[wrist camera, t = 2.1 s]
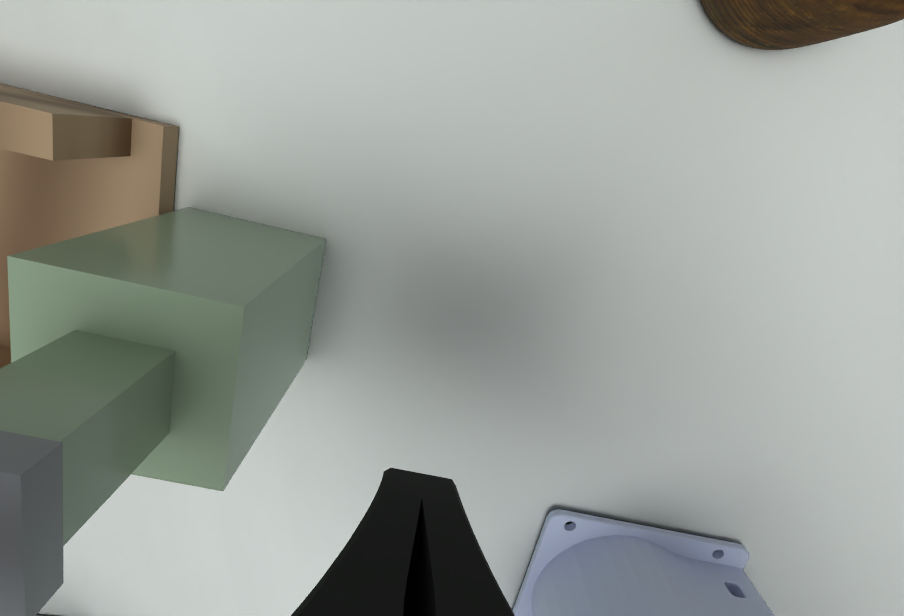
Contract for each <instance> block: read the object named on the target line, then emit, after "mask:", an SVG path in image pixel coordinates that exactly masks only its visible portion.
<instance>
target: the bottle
mask: <svg viewBox="0 0 904 616" xmlns="http://www.w3.org/2000/svg"><path fill="white" fill-rule="evenodd" d="M325 241H326V239H325V238H320V237H316V236H312V235H307V234H303V233H299V232H294V231H290V230H285V229H281V228H277V227H272V226H268V225H264V224H259V223H255V222H251V221H246V220H242V219H237V218H233V217H229V216H224V215H220V214H216V213H211V212H207V211H203V210H198V209H194V208H190V207H188V208H184V209H180V210H177V211H173V212H169V213H165V214H162V215H158V216H154V217H150V218H147V219H143V220H139V221H136V222H132V223H128V224H124V225H121V226H117V227H113V228H109V229H106V230H102V231H98V232H94V233H91V234H87V235H83V236H80V237H76V238H72V239H68V240H65V241H61V242H57V243H53V244H50V245H46V246H42V247H38V248H35V249H31V250H27V251H23V252H20V253H16V254H12V255H9V256H7V264H8V290H9V316H10V342H11V363H10V364H8V365H6V366H4V367H2V368H0V616H35V615H36V614H37V613H38V612H39V611H40V610H41V608H42V607H43V606H44V605H45V604H46V603H47V601H48V600H49V599H50V598H51V597H52V596H53V594H54V593H55V592H56V591H57V590H58V589H59V587H60V586H61V585H62V584H63V546H64V545H65V544H66V543H67V542H68V541H69V540H70V538H71V537H72V536H73V535H74V534H75V533H76V532H77V531H78V530H79V529H80V528H81V527H82V526H83V525H84V524H85V522H86V521H87V520H88V519H89V518H90V517H91V516H92V515H93V514H94V513H95V512H96V511H97V510H98V509H99V508H100V507H101V505H102V504H103V503H104V502H105V501H106V500H107V499H108V498H109V497H110V496H111V495H112V494H113V493H114V492H115V491H116V489H117V488H118V487H119V486H120V485H121V484H122V483H123V482H124V481H125V480H126V479H127V478H128V477H129V476H130V475H131V474H133V475H138V476H143V477H149V478H154V479H160V480H165V481H170V482H176V483H181V484H187V485H192V486H198V487H203V488H208V489H214V490H219V491H224V489H225V487H226V486H227V484H228V483H229V481H230V480H231V478H232V476H233V475H234V473H235V472H236V470H237V468H238V467H239V465H240V464H241V462H242V461H243V459H244V457H245V456H246V454H247V453H248V451H249V449H250V448H251V446H252V445H253V443H254V442H255V440H256V438H257V437H258V435H259V434H260V432H261V431H262V429H263V427H264V426H265V424H266V423H267V421H268V419H269V418H270V416H271V415H272V413H273V412H274V410H275V408H276V407H277V405H278V404H279V402H280V400H281V399H282V397H283V396H284V394H285V393H286V391H287V389H288V388H289V386H290V385H291V383H292V381H293V380H294V378H295V377H296V375H297V374H298V372H299V370H300V369H301V367H302V366H303V364H304V363H305V361H306V359H307V353H308V347H309V341H310V334H311V328H312V322H313V316H314V310H315V303H316V297H317V291H318V285H319V279H320V272H321V266H322V260H323V254H324V248H325Z"/></svg>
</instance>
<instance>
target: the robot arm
mask: <svg viewBox="0 0 904 616" xmlns="http://www.w3.org/2000/svg"><path fill="white" fill-rule="evenodd" d="M569 521H572V522H573V523H571V524H569V525H566V523H567V522H569ZM716 550H718V551H716ZM714 551H716V552H714ZM748 559H749V553H748V551H747V550H746V548H745V547H744V546H743V545H741V544H738V543H733V542H727V541H722V540H717V539H712V538H707V537H701V536H696V535H691V534H686V533H681V532H675V531H670V530H665V529H660V528H654V527H649V526H644V525H639V524H634V523H628V522H623V521H618V520H613V519H608V518H602V517H597V516H592V515H587V514H581V513H576V512H571V511H566V510H558V509H556V510H553V511H551V512H550V513H549V514H548V515H547V517H546V520H545V523H544V526H543V528H542V531H541V534H540V537H539V539H538V542H537V545H536V548H535V551H534V553H533V556H532V559H531V562H530V564H529V567H528V570H527V573H526V575H525V578H524V581H523V584H522V586H521V589H520V592H519V595H518V597H517V600H516V603H515V606H514V608H513V611H512V609H511V608H510V606H509V604H508V602H507V600H506V598H505V597H504V595H503V593H502V591H501V589H500V587H499V585H498V583H497V581H496V579H495V577H494V576H493V574H492V571H491V569H490V567H489V565H488V563H487V561H486V559H485V557H484V555H483V552H482V550H481V548H480V546H479V544H478V542H477V539H476V537H475V535H474V533H473V530H472V528H471V525H470V523H469V520H468V518H467V516H466V513H465V510H464V508H463V505H462V502H461V500H460V497H459V494H458V491H457V488H456V485H455V484H454V482H453V481H452V479H448V478H442V477H437V476H432V475H427V474H421V473H416V472H411V471H405V470H400V469H395V468H390V469H388V470H386V471H384V474H383V478H382V481H381V484H380V486H379V489H378V491H377V493H376V495H375V497H374V499H373V501H372V503H371V505H370V507H369V509H368V510H367V512H366V514H365V516H364V517H363V519H362V520H361V522H360V524H359V525H358V527H357V528H356V530H355V532H354V533H353V535H352V537H351V538H350V540H349V541H348V543H347V544H346V546H345V547H344V548H343V550H342V551H341V553H340V554H339V555H338V557H337V558H336V559H335V561H334V562H333V564H332V565H331V566H330V568H329V569H328V570H327V572H326V573H325V574H324V576H323V577H322V579H321V580H320V581H319V582H318V584H317V585H316V586H315V587H314V589H313V590H312V591H311V592H310V594H309V595H308V596H307V597H306V598H305V600H304V601H303V602H302V603H301V605H300V606H299V607H298V608H297V609H296V610H295V611H294V613H293V614H292V615H291V616H774V614H773V613H772V611H771V610H770V608H769V607H768V606H767V604H766V603H765V601H764V600H763V598H762V597H761V595H760V594H759V592H758V591H757V590H756V588H755V587H754V585H753V584H752V582H751V581H750V579H749V578H748V576H747V575H746V574H745V572H744V571H743V568H744V567H745V565H746V563H747V561H748Z"/></svg>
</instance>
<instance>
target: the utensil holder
mask: <svg viewBox="0 0 904 616" xmlns="http://www.w3.org/2000/svg"><path fill="white" fill-rule="evenodd" d="M701 1H702V4H703V6H704V8H705V10H706V12H707V13H708V15H709V17H710V18H711V20H712V21H713V22H714V24H715V25H716V26H717V27H718V28H719V29H720V30H721V31H722V32H723V33H725V34H726V35H727V36H729V37H730V38H732V39H733V40H735V41H737V42H739V43H741V44H744V45H746V46H750V47H753V48H758V49H766V50H782V49H792V48H798V47H803V46H808V45H813V44H817V43H821V42H825V41H829V40H833V39H837V38H841V37H845V36H849V35H853V34H856V33H860V32H864V31H868V30H871V29H875V28H878V27H882V26H885V25H888V24H891V23H894V22H897V21H899V20H902V19H904V0H701Z"/></svg>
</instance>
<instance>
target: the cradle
mask: <svg viewBox="0 0 904 616" xmlns="http://www.w3.org/2000/svg"><path fill="white" fill-rule="evenodd" d="M178 133H179V127H178V126H174V125H169V124H165V123H161V122H157V121H153V120H149V119H145V118H141V117H136V116H132V115H128V114H124V113H120V112H116V111H112V110H107V109H103V108H99V107H95V106H91V105H87V104H83V103H79V102H74V101H70V100H66V99H62V98H58V97H54V96H50V95H45V94H41V93H37V92H33V91H29V90H25V89H21V88H17V87H12V86H8V85H4V84H0V368H2V367H4V366H6V365H8V364H10V363H11V342H10V316H9V290H8V264H7V256H9V255H12V254H16V253H20V252H23V251H27V250H31V249H35V248H38V247H42V246H46V245H50V244H53V243H57V242H61V241H65V240H68V239H72V238H76V237H80V236H83V235H87V234H91V233H94V232H98V231H102V230H106V229H109V228H113V227H117V226H121V225H124V224H128V223H132V222H136V221H139V220H143V219H147V218H150V217H154V216H158V215H162V214H165V213H169V212H173V210H174V195H175V179H176V164H177V148H178Z"/></svg>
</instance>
